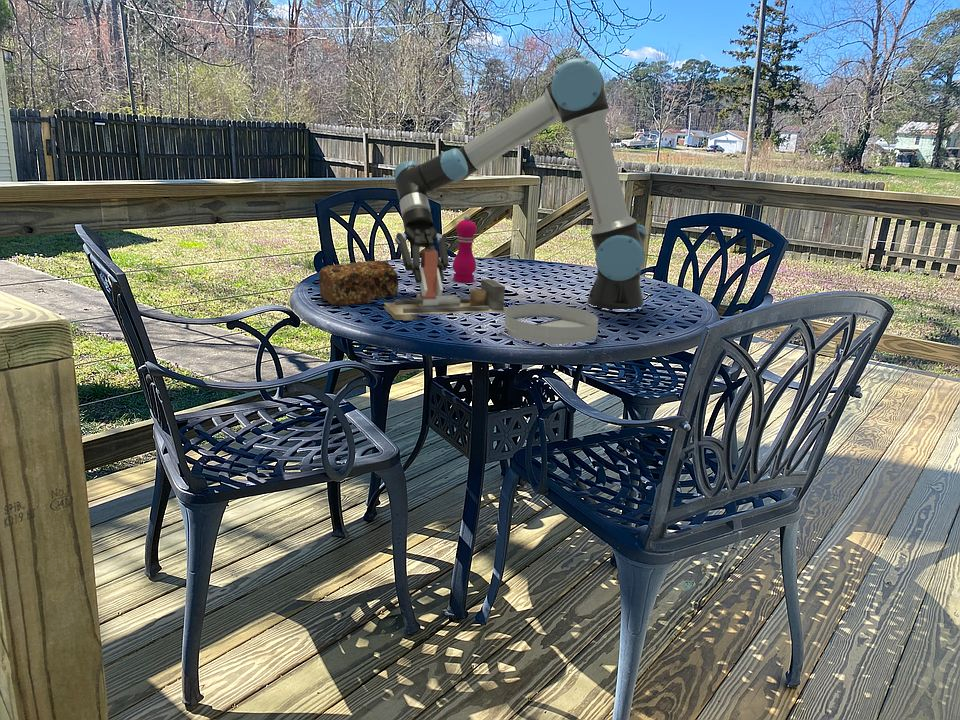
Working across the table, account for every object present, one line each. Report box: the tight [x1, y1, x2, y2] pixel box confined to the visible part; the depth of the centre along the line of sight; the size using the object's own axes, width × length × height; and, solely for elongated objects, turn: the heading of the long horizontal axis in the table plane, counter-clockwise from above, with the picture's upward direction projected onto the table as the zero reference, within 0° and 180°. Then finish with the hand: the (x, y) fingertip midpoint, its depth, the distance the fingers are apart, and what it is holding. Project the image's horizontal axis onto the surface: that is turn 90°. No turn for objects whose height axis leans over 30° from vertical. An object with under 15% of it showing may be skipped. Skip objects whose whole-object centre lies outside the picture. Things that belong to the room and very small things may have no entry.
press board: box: [382, 278, 508, 321], centre depth 186 cm, size 30×12×8 cm, turn 110°
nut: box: [469, 288, 486, 306], centre depth 188 cm, size 4×4×4 cm
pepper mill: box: [452, 214, 477, 283], centre depth 223 cm, size 7×7×20 cm
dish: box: [503, 303, 599, 344], centre depth 172 cm, size 22×22×5 cm
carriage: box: [416, 249, 460, 307], centre depth 183 cm, size 10×6×14 cm, turn 110°
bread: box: [318, 260, 399, 307], centre depth 193 cm, size 19×11×10 cm, turn 121°
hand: (432, 292), depth 180 cm, fingers closed on carriage, 3 cm apart
